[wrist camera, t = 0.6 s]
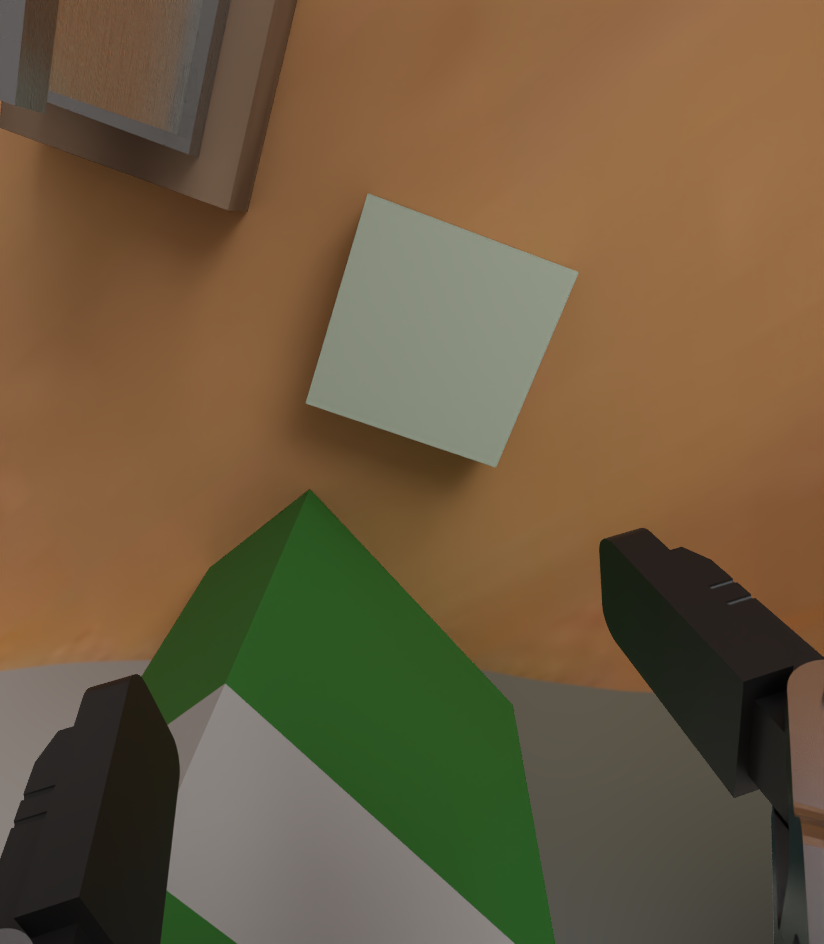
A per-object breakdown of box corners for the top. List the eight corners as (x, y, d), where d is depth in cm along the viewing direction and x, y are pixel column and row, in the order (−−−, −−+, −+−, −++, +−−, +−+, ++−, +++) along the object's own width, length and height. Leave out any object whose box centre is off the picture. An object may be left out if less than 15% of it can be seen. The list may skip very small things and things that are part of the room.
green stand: (316, 386, 31) (305, 403, 28) (373, 196, 28) (367, 193, 25) (489, 446, 32) (495, 467, 29) (564, 267, 29) (578, 272, 26)
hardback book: (512, 705, 38) (636, 1399, 16) (415, 764, 40) (400, 1463, 17) (309, 489, 33) (69, 1040, 11) (209, 567, 35) (-174, 1179, 13)
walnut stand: (42, 136, 28) (-1, 127, 25) (73, -116, 24) (27, -159, 22) (247, 211, 28) (227, 210, 26) (302, -23, 25) (286, -53, 23)
